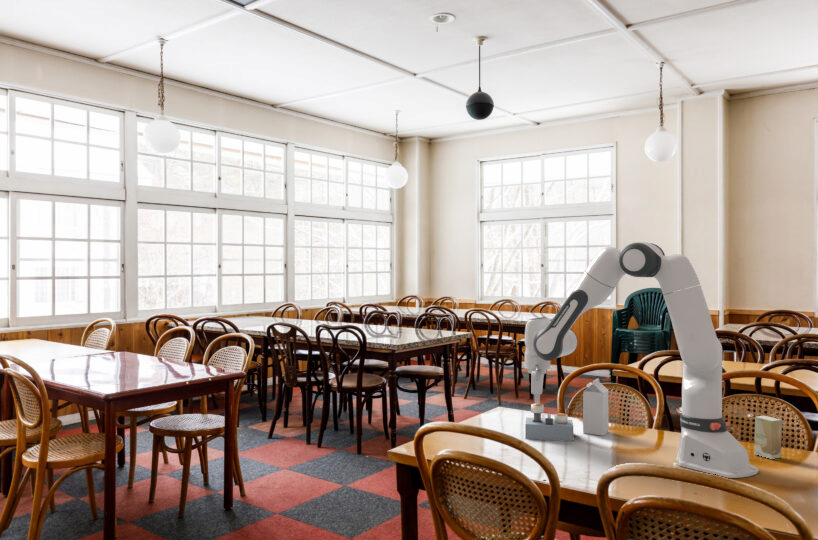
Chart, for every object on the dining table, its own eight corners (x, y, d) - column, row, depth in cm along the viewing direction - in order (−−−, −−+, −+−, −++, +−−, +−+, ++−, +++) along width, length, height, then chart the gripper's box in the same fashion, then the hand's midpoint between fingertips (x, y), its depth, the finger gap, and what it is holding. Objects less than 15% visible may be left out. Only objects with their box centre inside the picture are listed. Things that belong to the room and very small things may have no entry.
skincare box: (753, 455, 199) (753, 416, 199) (763, 453, 200) (763, 414, 200) (772, 460, 193) (772, 420, 193) (782, 459, 195) (782, 419, 195)
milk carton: (608, 431, 227) (608, 379, 227) (603, 436, 221) (603, 382, 221) (588, 429, 231) (588, 377, 231) (582, 433, 225) (582, 380, 225)
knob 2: (567, 434, 222) (567, 413, 222) (567, 438, 218) (567, 415, 218) (554, 434, 223) (554, 412, 223) (554, 437, 219) (554, 415, 219)
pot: (552, 423, 219) (552, 413, 219) (553, 425, 217) (553, 415, 217) (545, 423, 220) (545, 413, 220) (545, 424, 217) (545, 414, 217)
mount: (572, 433, 225) (572, 419, 225) (573, 441, 215) (573, 426, 215) (526, 431, 228) (526, 417, 228) (525, 438, 218) (525, 424, 218)
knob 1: (543, 424, 224) (543, 403, 224) (543, 427, 220) (543, 405, 220) (531, 424, 225) (531, 402, 225) (530, 427, 221) (530, 405, 221)
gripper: (546, 368, 211) (546, 409, 211) (546, 359, 231) (546, 397, 231) (527, 367, 213) (527, 408, 213) (528, 359, 233) (528, 396, 233)
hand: (537, 402), depth 222 cm, fingers closed
